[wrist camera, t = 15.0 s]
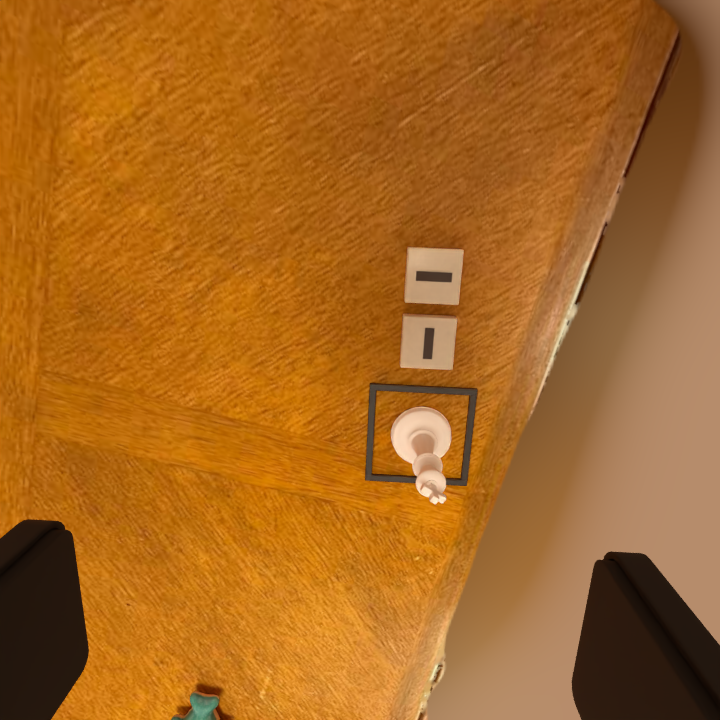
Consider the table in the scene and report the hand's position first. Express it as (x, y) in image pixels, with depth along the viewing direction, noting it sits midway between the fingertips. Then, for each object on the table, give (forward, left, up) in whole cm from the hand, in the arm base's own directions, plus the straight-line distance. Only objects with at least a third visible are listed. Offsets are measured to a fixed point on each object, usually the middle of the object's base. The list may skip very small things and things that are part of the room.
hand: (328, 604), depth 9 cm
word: (+4, +5, -30) cm, 31 cm away
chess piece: (+10, +5, -30) cm, 32 cm away
